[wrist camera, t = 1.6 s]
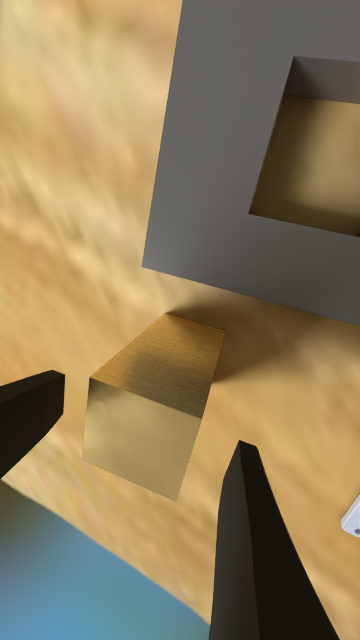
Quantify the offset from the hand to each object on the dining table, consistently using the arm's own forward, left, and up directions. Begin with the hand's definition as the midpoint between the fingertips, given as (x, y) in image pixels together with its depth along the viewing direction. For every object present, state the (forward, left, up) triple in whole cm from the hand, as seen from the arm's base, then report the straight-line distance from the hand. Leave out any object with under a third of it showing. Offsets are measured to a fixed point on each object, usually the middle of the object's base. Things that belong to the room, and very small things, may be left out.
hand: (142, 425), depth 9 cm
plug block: (0, 0, -7) cm, 7 cm away
